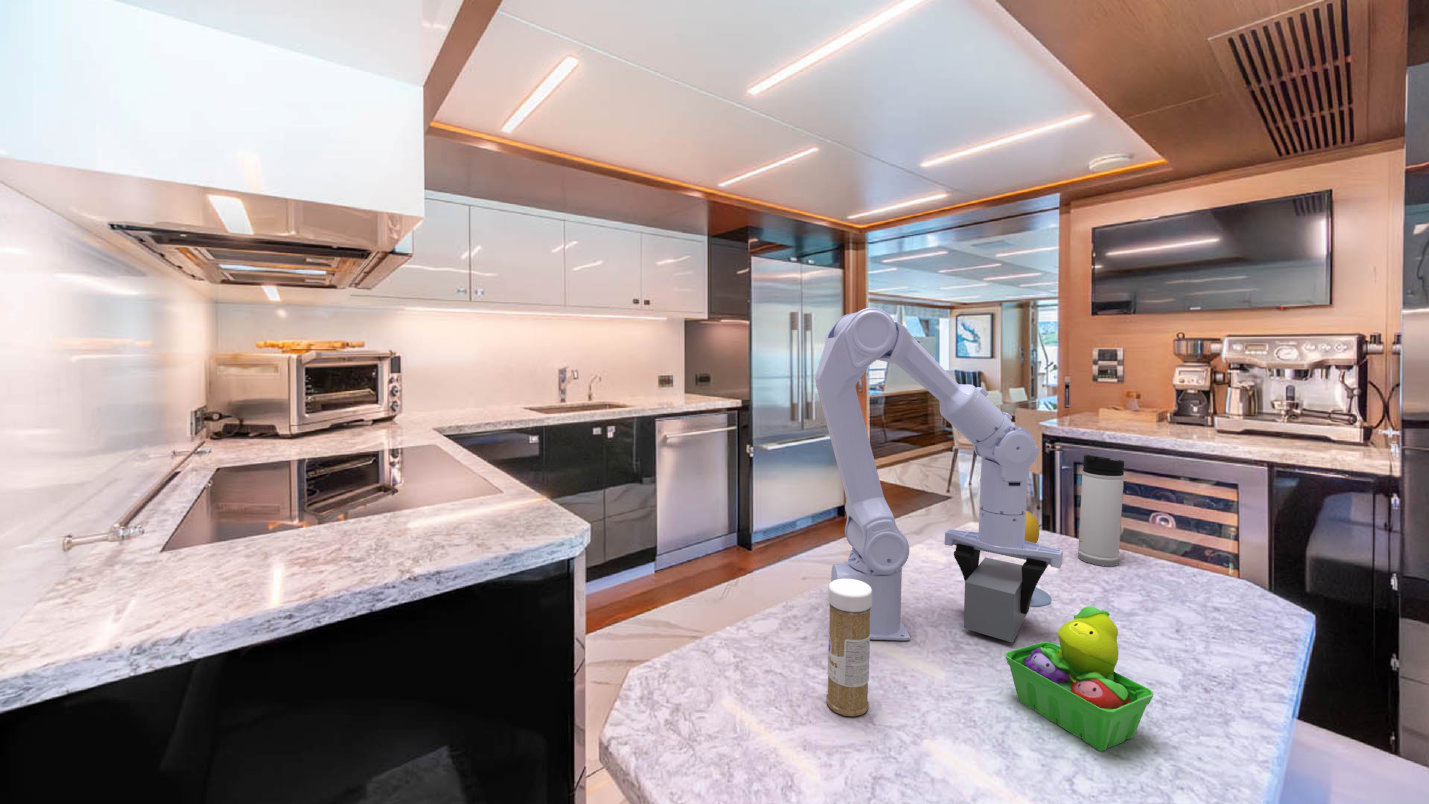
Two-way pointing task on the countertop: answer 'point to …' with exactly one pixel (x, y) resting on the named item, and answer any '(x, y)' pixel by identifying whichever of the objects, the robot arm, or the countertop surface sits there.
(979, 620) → the grey rectangular block
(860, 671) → the spice jar
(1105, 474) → the travel mug
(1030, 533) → the fruit
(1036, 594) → the disc
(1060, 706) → the fruit basket
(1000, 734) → the countertop surface
